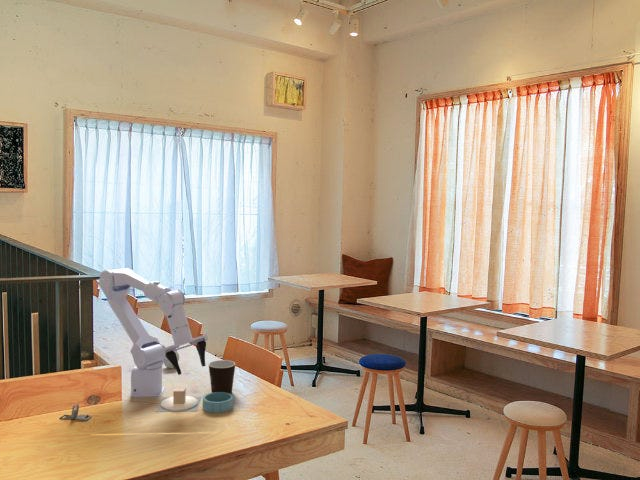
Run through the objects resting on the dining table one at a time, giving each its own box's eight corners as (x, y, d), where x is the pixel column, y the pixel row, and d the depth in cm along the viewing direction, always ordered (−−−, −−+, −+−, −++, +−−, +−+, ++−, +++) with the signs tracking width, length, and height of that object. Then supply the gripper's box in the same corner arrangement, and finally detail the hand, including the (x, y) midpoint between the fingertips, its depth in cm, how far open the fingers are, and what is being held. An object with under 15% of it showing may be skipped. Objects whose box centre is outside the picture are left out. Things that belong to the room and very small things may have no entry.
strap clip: (92, 418, 161) (92, 403, 161) (86, 422, 158) (86, 407, 158) (64, 416, 162) (64, 402, 162) (58, 420, 159) (58, 405, 158)
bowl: (201, 414, 165) (201, 402, 164) (204, 403, 174) (204, 392, 173) (231, 413, 166) (232, 402, 165) (233, 402, 174) (233, 391, 174)
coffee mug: (229, 399, 177) (229, 369, 176) (204, 397, 179) (204, 366, 178) (241, 387, 188) (242, 358, 188) (217, 385, 190) (218, 356, 189)
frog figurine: (182, 365, 211) (182, 347, 211) (175, 370, 205) (175, 352, 204) (166, 364, 212) (166, 346, 212) (159, 370, 205) (159, 351, 205)
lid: (157, 411, 165) (157, 396, 165) (164, 397, 176) (164, 383, 176) (195, 410, 166) (195, 395, 166) (199, 397, 177) (199, 383, 177)
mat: (155, 413, 165) (155, 411, 165) (163, 398, 177) (163, 397, 177) (196, 412, 166) (196, 411, 166) (201, 397, 178) (201, 396, 178)
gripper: (158, 334, 167) (171, 378, 165) (204, 319, 173) (217, 362, 172) (155, 336, 173) (167, 378, 171) (200, 322, 179) (212, 362, 178)
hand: (192, 370), depth 172 cm, fingers open, 7 cm apart
